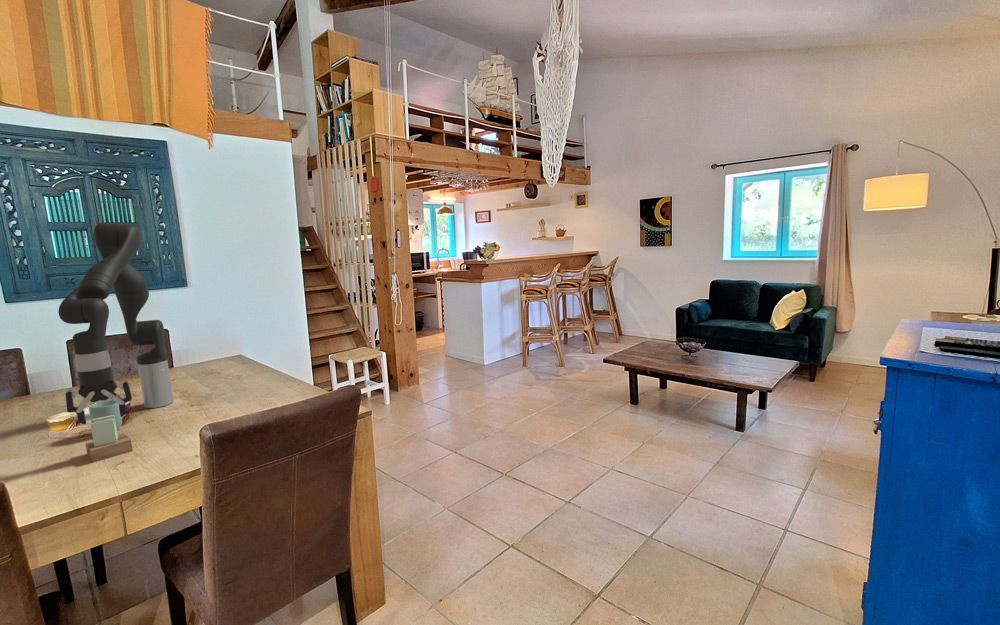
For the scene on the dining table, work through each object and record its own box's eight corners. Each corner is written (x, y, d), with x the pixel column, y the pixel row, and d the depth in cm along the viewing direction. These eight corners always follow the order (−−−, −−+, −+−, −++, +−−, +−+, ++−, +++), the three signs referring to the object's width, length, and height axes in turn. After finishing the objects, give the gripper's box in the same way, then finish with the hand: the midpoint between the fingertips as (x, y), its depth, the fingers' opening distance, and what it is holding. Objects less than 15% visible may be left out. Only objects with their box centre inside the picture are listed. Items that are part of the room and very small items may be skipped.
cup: (122, 425, 157) (118, 397, 155) (125, 431, 151) (120, 403, 150) (92, 432, 151) (87, 404, 150) (94, 439, 146) (89, 409, 144)
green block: (96, 441, 135) (92, 419, 134) (118, 436, 138) (114, 414, 137) (94, 446, 131) (90, 423, 130) (116, 441, 134) (112, 419, 133)
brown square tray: (87, 455, 135) (85, 442, 134) (125, 444, 142) (123, 432, 141) (93, 464, 129) (91, 450, 129) (132, 452, 136) (130, 439, 135)
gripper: (126, 360, 139) (134, 410, 141) (62, 369, 130) (72, 422, 132) (125, 364, 133) (134, 417, 135) (58, 374, 124) (69, 430, 127)
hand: (103, 419), depth 134 cm, fingers open, 8 cm apart
